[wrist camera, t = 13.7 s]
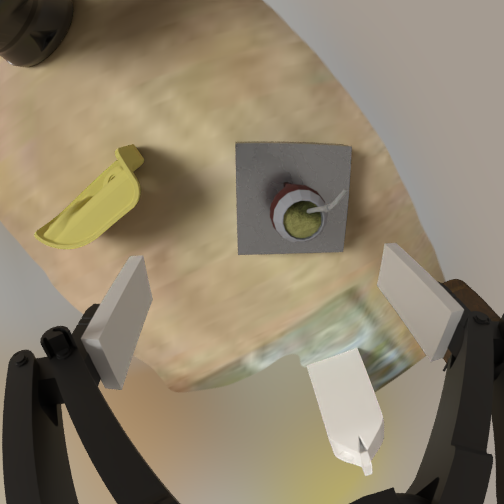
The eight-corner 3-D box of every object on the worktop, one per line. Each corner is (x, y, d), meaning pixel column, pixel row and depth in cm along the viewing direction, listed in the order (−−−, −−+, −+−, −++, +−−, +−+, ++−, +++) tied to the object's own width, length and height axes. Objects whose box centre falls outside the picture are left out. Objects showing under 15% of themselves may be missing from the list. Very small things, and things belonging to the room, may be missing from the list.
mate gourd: (274, 232, 43) (292, 286, 29) (257, 181, 39) (269, 212, 26) (323, 216, 42) (363, 262, 28) (309, 164, 39) (348, 188, 25)
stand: (235, 141, 41) (235, 143, 37) (342, 144, 42) (351, 146, 38) (237, 244, 47) (238, 254, 44) (335, 242, 48) (343, 251, 44)
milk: (361, 379, 63) (397, 468, 40) (316, 395, 64) (340, 488, 41) (357, 347, 59) (400, 447, 35) (306, 365, 60) (333, 471, 36)
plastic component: (137, 143, 40) (112, 149, 31) (165, 181, 43) (146, 197, 34) (59, 216, 44) (27, 238, 35) (83, 248, 46) (56, 275, 37)
